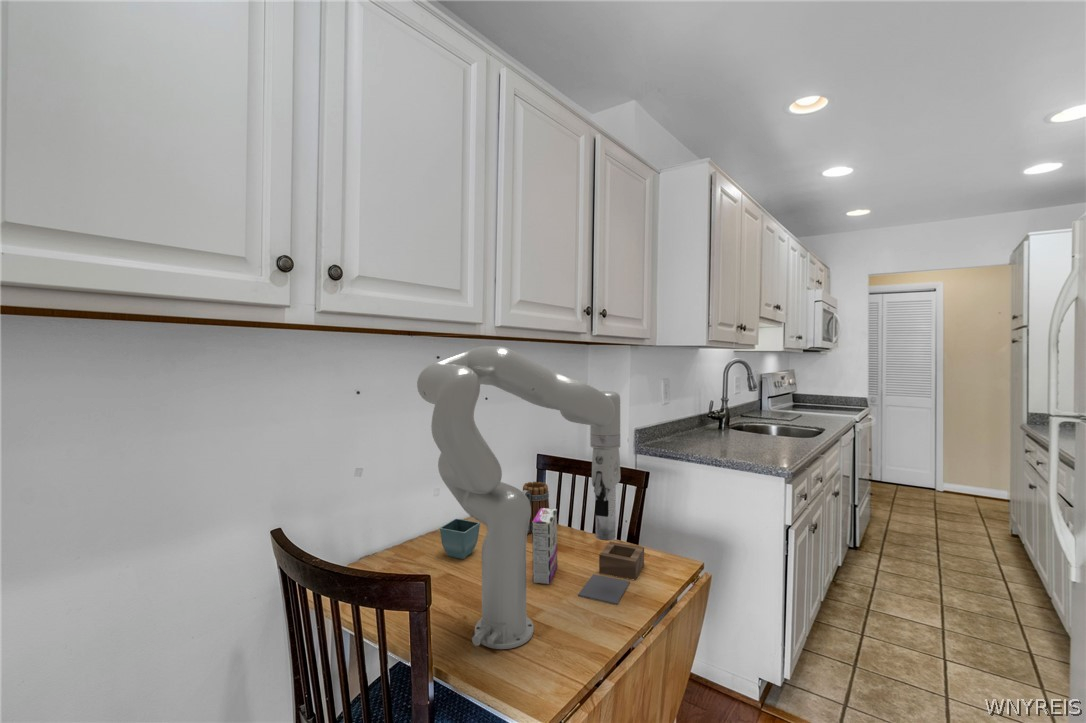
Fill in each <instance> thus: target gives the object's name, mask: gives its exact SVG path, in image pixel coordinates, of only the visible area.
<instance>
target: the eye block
mask: <svg viewBox="0 0 1086 723" xmlns="http://www.w3.org/2000/svg"><path fill="white" fill-rule="evenodd" d="M643 565H644V566H645V547H644V546H637V545H632V544H627V543H619V542H615V541H609V542H608V543H607V545H606V546H605V547H604V548H603V550H602V551H601V552H600V553H599V554H598V567H599V568H598V569H599V570H598V572H599V574H603V575H606V574H607V575H606V576H611V575H612V576H613V577H616V576H617V578H621V577H623V578H622V579H626V578H628V580H631V579H634V580H633V581H636V580H637V579H638V577H639V576H640V573H641V571H642V570H641V569H643V568H644V566H643ZM642 567H643V568H642ZM637 576H638V577H637ZM636 578H637V579H636Z"/></svg>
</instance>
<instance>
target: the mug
mask: <svg viewBox="0 0 1086 723" xmlns="http://www.w3.org/2000/svg"><path fill="white" fill-rule="evenodd" d="M521 491H522V492H523V493H524V494H525V495H526V496H527V498H528V500H529V502H530V506H531V516H530V521H529V526H528V532H527V534H531V533H532V521H533V520H534V518H535V517H536V515H537V513H538V512H539V510H540V508H550V498H549V497H550V493H549V492H550V491H549V487H548V484H546V482H542V481H538V482H537V481H529V482H528V481H527V482H526V483H524V484H523V486H522V490H521Z"/></svg>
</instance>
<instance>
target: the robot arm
mask: <svg viewBox="0 0 1086 723" xmlns="http://www.w3.org/2000/svg"><path fill="white" fill-rule="evenodd" d="M416 384H417V385H416V387H417V392H418V394H419V395H420V397H421V399H423V400H424V401H425V402H427V403H429V404H433V405H434V406H433V411H432V415H431V416H432V417H431V426H430V427H431V435H432V438H433V441H434V443H435V445H436V447H437V448H438V450H439V451H440V454H439V457H438V462H437V468H438V472H439V475H440V478H441V480H442V481H443V482H444V484H445V486H446V487H447V488H448V491H450V493H451V494H452V495H453V497H454V498H455V499H456V501H457V502H458V504H459V505H460V506H461V507H462V509H463V510H464V512H465V513H466V514H468V516H470V517H471V518H472V519H474V520H476V521H477V522H479V523H482V524H483V525H485V526H486V528H487V529H486V534H485V537H484V539H483V543H482V547H481V618H480V619H479V620H478V621H477V622H476V624H475V626H474V635H473V636H472V638H471V642H472V644H473V645H474V646H476V647H478V646H480V645H482V646H485V647H487V648H490V649H493V650H494V649H495V650H508V649H509V650H510V649H513V648H517V647H521V646H522V645H524V644H526V643H527V642H528V641H530V640H531V639H532V637H533V635H534V623H533V621H532V620H531V618H529V617H528V616H527V542H528V540H527V539H528V533H527V532H528V526H529V521H530V516H531V506H530V502H529V500H528V498H527V496H526V495H525V494H524V493H523V492H522V491H523V490H521V489H519V488H517V487H515V486H513V485H510V484H508V483H505V482H502V476H503V473H502V471H503V470H502V466H501V464H500V461H499V460H498V458H497V457H496V455H495V454H494V452H493V451H492V449H491V447H490V446H489V444H488V443H487V441H486V440H485V439H484V437H483V436H482V433H481V432H480V430H479V428H478V427H477V425H476V422H475V410H476V406H477V403H478V399H479V396H480V392H481V385H486V386H493V387H496V388H498V389H500V390H503V392H507V393H509V394H511V395H513V396H515V397H518V398H520V399H522V400H524V401H526V402H528V403H530V404H532V405H534V406H539V407H542V408H546V409H551V410H555V411H556V410H557V411H559V412H560V414H561V417H563V418H564V419H565V420H567V421H568V422H572V423H575V424H580V425H587V426H590V429H589V430H590V434H589V435H590V437H589V439H590V440H589V441H590V443H589V444H590V448H592V458H591V460H592V461H591V486H592V487H593V493H594V496H595V497H594V499H595V500H594V502H595V504H594V505H595V508H594V509H595V516H596V515H597V516H604V517H608V515H609V502H608V500H607V494H608V489H609V490H610V489H612V488H613V487H614V486H615V485H616V486H617V485H618V484H619V482H621V475H622V474H621V460H620V448H621V396H620V394H619V393H618V392H616V391H612V390H611V391H608V390H607V391H605V390H604V391H603V390H599V389H597V388H594V386H591V385H589V384H587V383H584V382H582V381H580V380H576V379H573V378H571V377H569V376H565V375H564V374H561V373H559V372H556V371H553V370H550V369H548V367H547V368H546V367H544V366H543V365H541V364H539V363H537V362H535V361H533V360H532V359H530V358H528V357H526V356H524V355H522V354H520V353H518V352H517V351H514V350H513V349H510V348H509V347H505V346H499V345H498V346H497V345H496V346H495V345H493V346H492V345H490V346H486V345H485V346H479V347H474V348H471V349H468V350H466V351H464V352H460V353H458V354H455V355H452V356H451V357H447V358H445V359H441V360H440V361H436V362H434V363H432V364H430V365H428V366H426V367H425V368H424V369H423V370H421V371H420V374H419V375H418V378H417V382H416ZM601 485H604V486H605V488H604V487H601ZM601 490H604V493H603V492H601Z"/></svg>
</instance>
